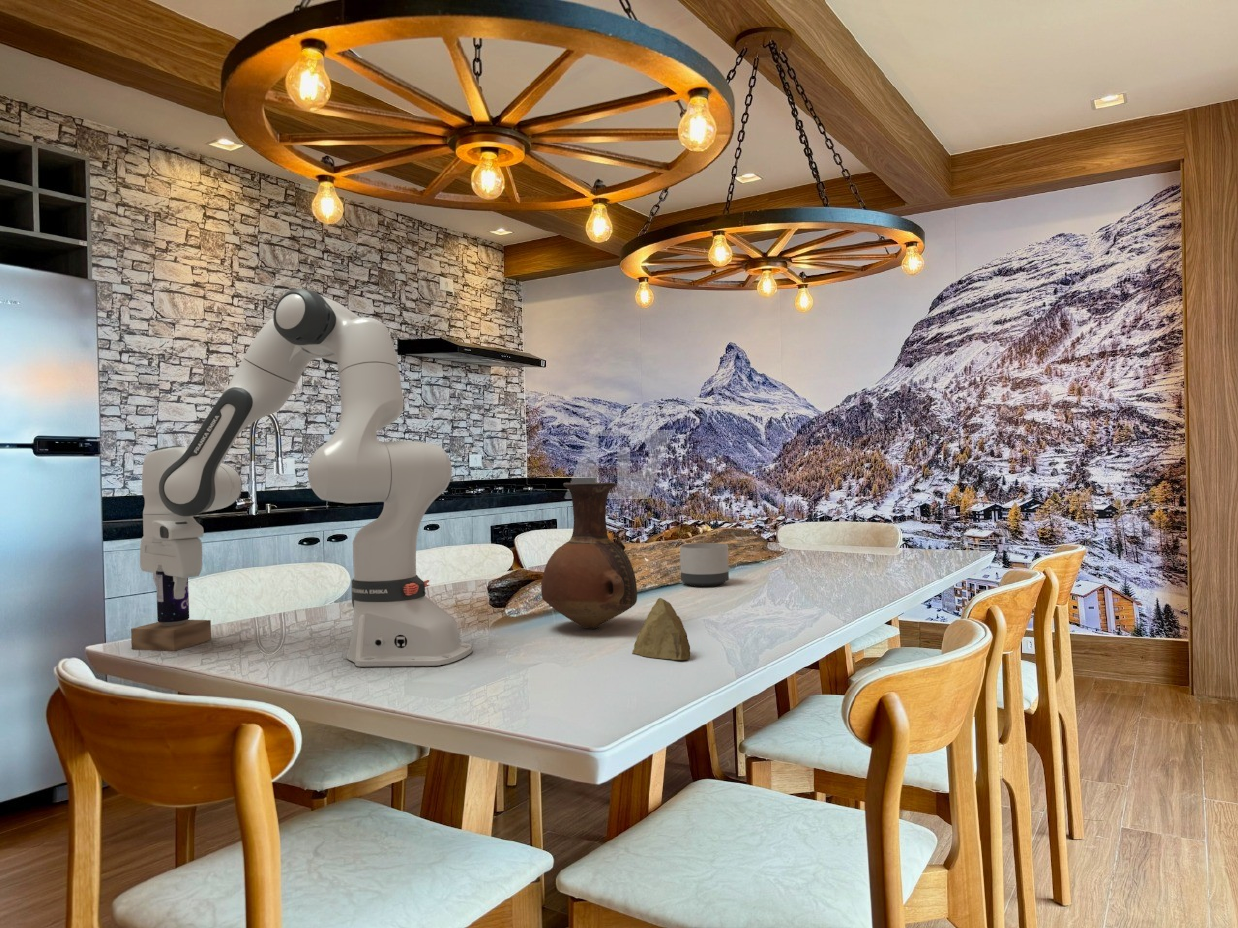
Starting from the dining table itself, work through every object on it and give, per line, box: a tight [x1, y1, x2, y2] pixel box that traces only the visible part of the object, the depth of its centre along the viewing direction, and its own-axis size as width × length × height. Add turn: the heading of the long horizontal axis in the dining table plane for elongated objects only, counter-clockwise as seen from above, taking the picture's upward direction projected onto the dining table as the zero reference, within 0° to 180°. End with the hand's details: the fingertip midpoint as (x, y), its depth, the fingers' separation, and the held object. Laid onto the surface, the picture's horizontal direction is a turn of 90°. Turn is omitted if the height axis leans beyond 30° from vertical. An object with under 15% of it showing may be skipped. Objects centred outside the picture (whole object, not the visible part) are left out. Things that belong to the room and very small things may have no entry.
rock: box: [631, 597, 691, 661], centre depth 152 cm, size 11×9×10 cm
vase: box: [540, 482, 638, 630], centre depth 180 cm, size 25×20×30 cm
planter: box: [679, 542, 730, 588], centre depth 234 cm, size 13×13×10 cm
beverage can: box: [155, 565, 190, 626], centre depth 174 cm, size 6×6×12 cm
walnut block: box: [130, 619, 212, 652], centre depth 174 cm, size 10×10×4 cm
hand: (170, 596), depth 174 cm, fingers closed on beverage can, 6 cm apart
